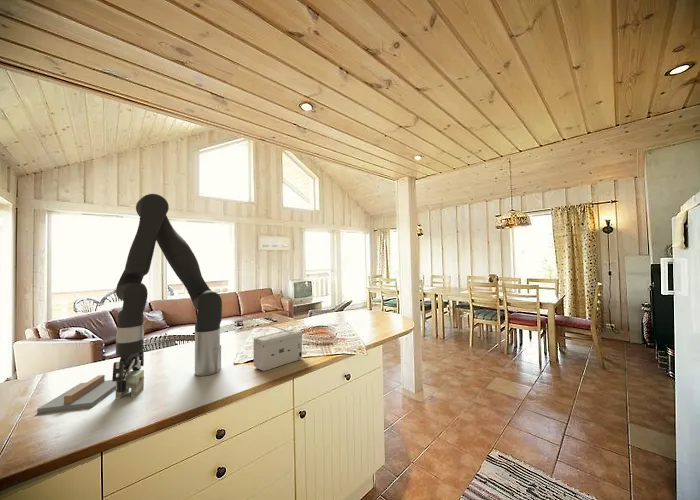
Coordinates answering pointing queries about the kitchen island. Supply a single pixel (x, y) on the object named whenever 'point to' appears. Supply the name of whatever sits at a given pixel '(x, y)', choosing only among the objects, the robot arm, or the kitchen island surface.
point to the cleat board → (81, 396)
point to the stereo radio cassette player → (277, 348)
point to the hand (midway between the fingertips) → (128, 386)
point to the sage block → (133, 384)
